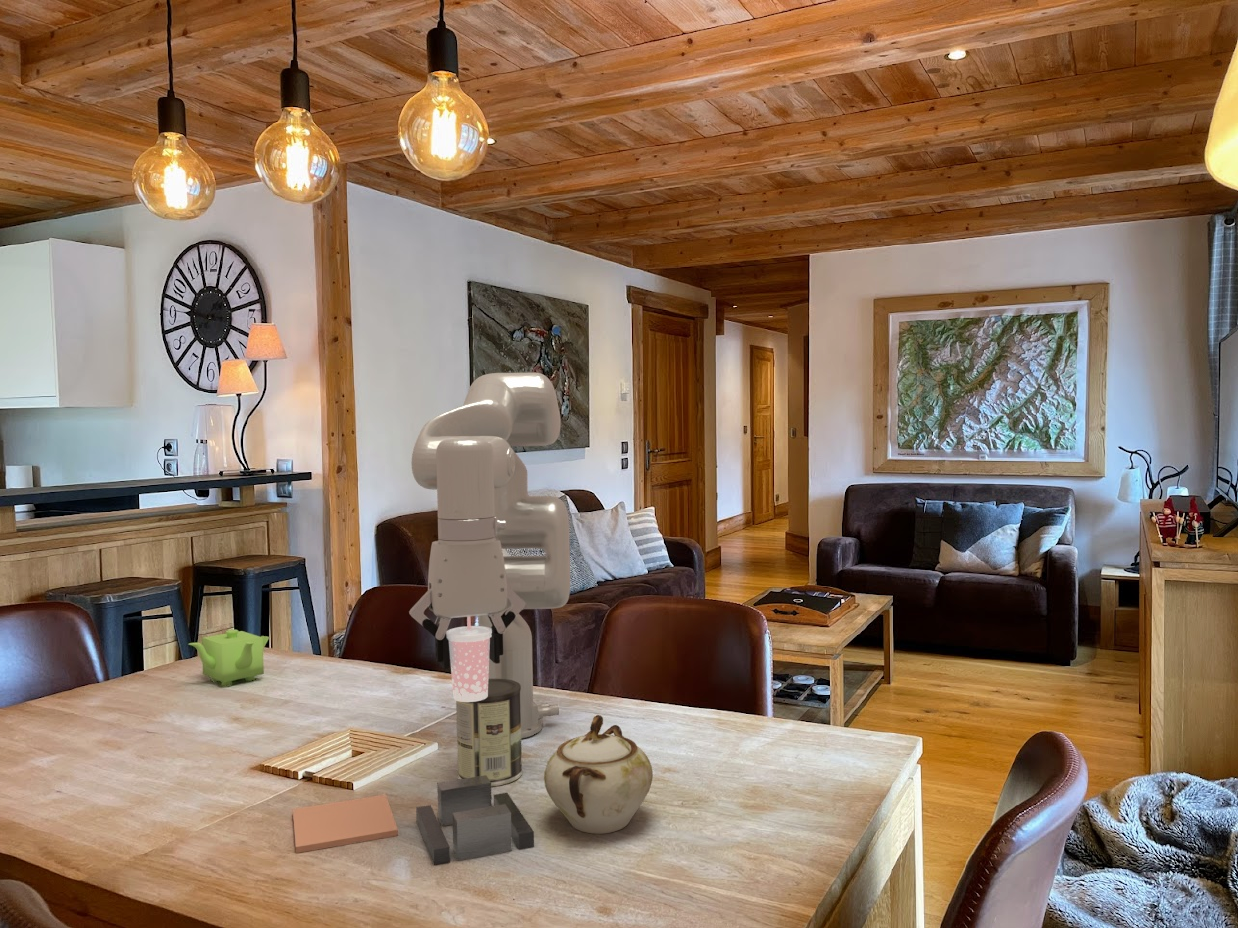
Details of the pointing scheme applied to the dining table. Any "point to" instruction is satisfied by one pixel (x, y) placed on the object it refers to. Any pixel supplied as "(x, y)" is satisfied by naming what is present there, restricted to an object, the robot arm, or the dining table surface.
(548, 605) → the robot arm
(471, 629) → the beverage cup
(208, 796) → the dining table surface
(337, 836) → the terracotta tile
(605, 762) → the sugar bowl
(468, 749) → the coffee can
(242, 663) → the kettle
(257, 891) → the dining table surface
